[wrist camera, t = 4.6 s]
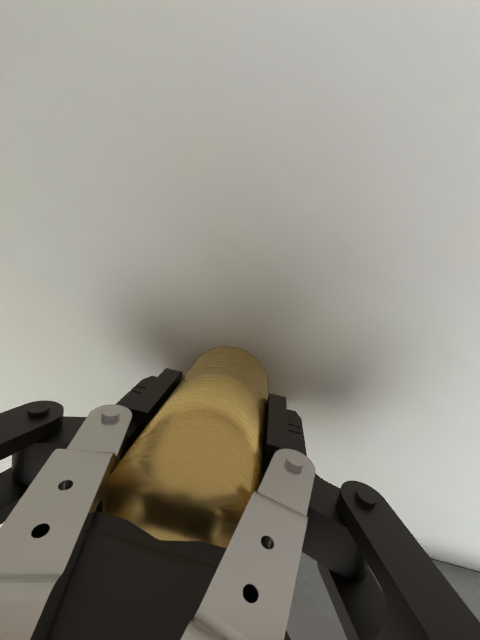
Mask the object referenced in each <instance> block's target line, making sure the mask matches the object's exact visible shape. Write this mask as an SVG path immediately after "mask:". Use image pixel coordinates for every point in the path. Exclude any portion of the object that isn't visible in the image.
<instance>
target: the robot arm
mask: <svg viewBox="0 0 480 640" xmlns="http://www.w3.org/2000/svg"><path fill="white" fill-rule="evenodd" d="M182 378H183V373H182V372H180V371H176V370H172V369H168V368H166V369H165V370H164V371H163V372H162V373H161V374H160V375H159V376H158V377H155V376H150V377H148V378H145V379H143V380H141V381H140V382H139V383H138V384H137V385H136V387H134V388H133V389H132V390H131V391H130V392H128V393H127V394H126V395H125V396H124V397H123V398H122V399H121V400H120V401H119V402H118V403H117V404H115V405H104V406H100V407H97V408H95V409H94V410H92V411H91V412H90V413H89V415H88V416H87V417H63V411H64V409H63V406H62V405H61V404H59V403H57V402H53V401H36V402H31V403H27V404H24V405H22V406H19V407H16V408H13V409H11V410H8V411H5V412H2V413H0V460H2V459H4V458H6V457H8V456H10V455H12V467H11V468H9V469H8V470H6V471H4V472H2V473H0V524H2V523H3V522H4V523H3V525H2V526H1V528H0V640H291V638H290V636H289V635H288V633H287V631H286V627H287V622H288V617H289V612H290V607H291V602H292V597H293V592H294V587H295V582H296V577H297V572H298V567H299V562H300V557H301V552H303V553H305V554H306V555H308V556H309V557H311V558H312V559H314V560H316V561H317V566H318V569H319V572H320V574H321V577H322V579H323V582H324V584H325V587H326V589H327V591H328V594H329V596H330V599H331V601H332V604H333V606H334V608H335V611H336V613H337V616H338V618H339V621H340V623H341V625H342V628H343V630H344V633H345V635H346V638H347V640H480V622H479V621H478V619H477V618H476V617H475V615H474V614H473V613H472V612H471V610H470V609H469V608H468V606H467V605H466V604H465V603H464V601H463V600H462V599H461V597H460V596H459V595H458V593H457V592H456V591H455V590H454V588H453V587H452V586H451V584H450V583H449V582H448V581H447V579H446V578H445V577H444V575H443V574H442V573H441V571H440V570H439V569H438V568H437V566H436V565H435V564H434V562H433V561H432V560H431V559H430V557H429V556H428V555H427V553H426V552H425V551H424V549H423V548H422V547H421V546H420V544H419V543H418V542H417V540H416V539H415V538H414V537H413V535H412V534H411V533H410V531H409V530H408V529H407V527H406V526H405V525H404V524H403V522H402V521H401V520H400V518H399V517H398V516H397V515H396V513H395V512H394V511H393V509H392V508H391V507H390V505H389V504H388V503H387V502H386V500H385V499H384V498H383V497H382V496H381V495H380V494H379V493H378V492H377V491H376V490H374V489H373V488H371V487H370V486H368V485H366V484H364V483H361V482H358V481H347V482H345V483H343V484H342V486H341V489H340V488H338V487H336V486H334V485H332V484H330V483H328V482H326V481H325V480H323V479H322V478H320V477H319V476H318V475H316V474H315V467H314V464H313V463H312V461H311V460H310V459H309V458H308V457H307V455H306V448H305V441H304V435H303V429H302V420H301V418H300V417H299V415H298V414H297V413H296V411H292V410H288V409H286V397H282V396H278V395H274V394H270V393H269V396H268V399H267V407H266V421H265V435H264V449H263V467H262V481H261V484H260V486H259V489H258V491H254V492H253V494H252V496H251V498H250V500H249V502H248V504H247V507H246V509H245V511H244V513H243V515H242V517H241V519H240V521H239V524H238V526H237V528H236V530H235V532H234V534H233V536H232V539H231V541H230V543H229V545H228V547H227V548H223V547H220V546H217V545H213V544H210V543H206V542H203V541H164V540H159V539H157V538H155V537H153V536H152V535H150V534H149V533H147V532H145V531H144V530H142V529H141V528H139V527H138V526H136V525H134V524H133V523H131V522H130V521H128V520H126V519H123V518H119V517H116V516H113V515H109V514H106V506H107V497H108V487H109V477H110V475H111V473H112V471H113V469H114V468H115V467H116V465H117V464H118V463H119V461H120V460H121V459H122V457H123V456H124V455H125V453H126V452H127V451H128V450H129V448H130V447H131V446H132V444H133V443H134V442H135V440H136V439H137V438H138V436H139V435H140V434H141V433H142V431H143V430H144V429H145V427H146V426H147V425H148V423H149V422H150V421H151V419H152V418H153V417H154V416H155V414H156V413H157V412H158V410H159V409H160V408H161V406H162V405H163V404H164V403H165V401H166V400H167V399H168V397H169V396H170V395H171V393H172V392H173V391H174V389H175V388H176V387H177V386H178V384H179V383H180V382H181V380H182ZM369 567H370V568H369ZM370 569H371V570H370ZM371 571H372V572H371ZM372 573H373V574H374V576H375V577H374V576H373V574H372ZM375 578H376V579H375ZM376 580H377V581H378V583H379V584H378V583H377V581H376ZM379 585H380V586H379ZM380 587H381V588H380ZM381 589H382V590H381Z"/></svg>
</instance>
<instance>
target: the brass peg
mask: <svg viewBox="0 0 480 640" xmlns="http://www.w3.org/2000/svg"><path fill="white" fill-rule="evenodd" d="M267 396H268V380H267V376H266V373H265V370H264V369H263V367H262V365H261V364H260V363H259V361H258V360H257V359H256V358H255V357H253V356H252V355H251V354H249V353H248V352H246V351H244V350H241V349H238V348H234V347H218V348H214V349H211V350H209V351H207V352H205V353H204V354H203V355H201V356H200V357H199V358H198V359H197V361H196V362H195V363H194V365H193V366H192V367H191V369H190V370H189V371H188V372H187V374H186V375H185V376H184V378H183V379H182V380H181V382H180V383H179V384H178V386H177V387H176V388H175V389H174V391H173V392H172V393H171V395H170V396H169V397H168V399H167V400H166V401H165V403H164V404H163V405H162V406H161V408H160V409H159V410H158V412H157V413H156V414H155V416H154V417H153V418H152V419H151V421H150V422H149V423H148V425H147V426H146V427H145V429H144V430H143V431H142V433H141V434H140V435H139V436H138V438H137V439H136V440H135V442H134V443H133V444H132V446H131V447H130V448H129V450H128V451H127V452H126V453H125V455H124V456H123V457H122V459H121V460H120V461H119V463H118V464H117V465H116V467H115V468H114V469H113V471H112V473H111V475H110V477H109V487H108V497H107V506H106V514H109V515H113V516H116V517H119V518H123V519H126V520H128V521H130V522H131V523H133V524H134V525H136V526H138V527H139V528H141V529H142V530H144V531H145V532H147V533H149V534H150V535H152V536H153V537H155V538H157V539H159V540H164V541H203V542H206V543H210V544H213V545H217V546H220V547H223V548H227V547H228V545H229V543H230V541H231V539H232V536H233V534H234V532H235V530H236V528H237V526H238V524H239V521H240V519H241V517H242V515H243V513H244V511H245V509H246V507H247V504H248V502H249V500H250V498H251V496H252V494H253V492H254V491H258V489H259V486H260V484H261V481H262V467H263V449H264V435H265V421H266V407H267Z"/></svg>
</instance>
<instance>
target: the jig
mask: <svg viewBox="0 0 480 640" xmlns="http://www.w3.org/2000/svg"><path fill="white" fill-rule="evenodd" d="M431 560H432V561H433V562H434V564H435V565H436V566H437V568H438V569H439V570H440V571H441V573H442V574H443V575H444V577H445V578H446V579H447V581H448V582H449V583H450V584H451V586H452V587H453V588H454V590H455V591H456V592H457V593H458V595H459V596H460V597H461V599H462V600H463V601H464V603H465V604H466V605H467V606H468V608H469V609H470V610H471V612H472V613H473V614H474V615H475V617H476V618H477V619H478V621H479V622H480V572H477V571H473V570H469V569H466V568H462V567H459V566H455V565H451V564H448V563H444V562H440V561H437V560H433V559H431ZM369 568H370V567H369ZM370 570H371V569H370ZM371 572H372V571H371ZM372 574H373V573H372ZM373 576H374V574H373ZM374 577H375V576H374ZM375 579H376V578H375ZM376 581H377V580H376ZM377 583H378V581H377ZM378 584H379V583H378ZM379 586H380V585H379ZM380 588H381V587H380ZM381 590H382V589H381ZM286 631H287V633H288V635H289V636H290V638H291V640H347V638H346V635H345V633H344V630H343V628H342V625H341V623H340V621H339V618H338V616H337V613H336V611H335V608H334V606H333V604H332V601H331V599H330V596H329V594H328V591H327V589H326V587H325V584H324V582H323V579H322V577H321V574H320V572H319V569H318V566H317V561H316V560H314V559H312V558H311V557H309V556H308V555H306V554H305V553H303V552H301V557H300V562H299V567H298V572H297V577H296V582H295V587H294V592H293V597H292V602H291V607H290V612H289V617H288V622H287V627H286Z"/></svg>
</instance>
